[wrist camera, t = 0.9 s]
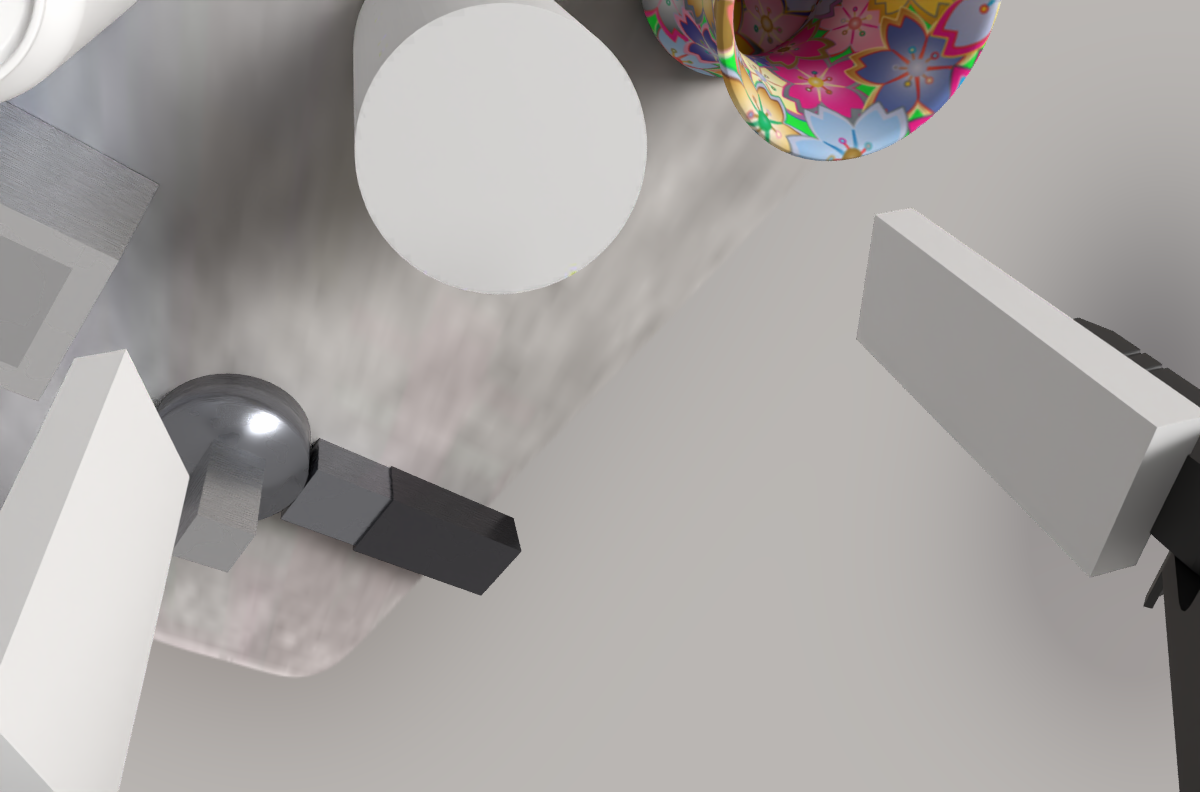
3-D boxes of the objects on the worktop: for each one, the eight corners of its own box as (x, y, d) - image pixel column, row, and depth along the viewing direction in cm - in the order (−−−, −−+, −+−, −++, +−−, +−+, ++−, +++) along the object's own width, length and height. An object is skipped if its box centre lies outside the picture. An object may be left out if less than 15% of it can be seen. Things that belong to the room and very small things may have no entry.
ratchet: (125, 457, 38) (83, 573, 32) (195, 348, 36) (164, 452, 30) (459, 578, 48) (475, 684, 42) (530, 499, 46) (556, 599, 40)
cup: (343, 145, 33) (341, 276, 23) (364, -81, 29) (371, -35, 19) (537, 178, 35) (606, 308, 26) (581, -24, 31) (682, 42, 22)
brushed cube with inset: (-94, 225, 30) (-192, 314, 25) (-28, 83, 28) (-120, 145, 23) (89, 306, 34) (38, 401, 28) (159, 184, 32) (119, 260, 26)
